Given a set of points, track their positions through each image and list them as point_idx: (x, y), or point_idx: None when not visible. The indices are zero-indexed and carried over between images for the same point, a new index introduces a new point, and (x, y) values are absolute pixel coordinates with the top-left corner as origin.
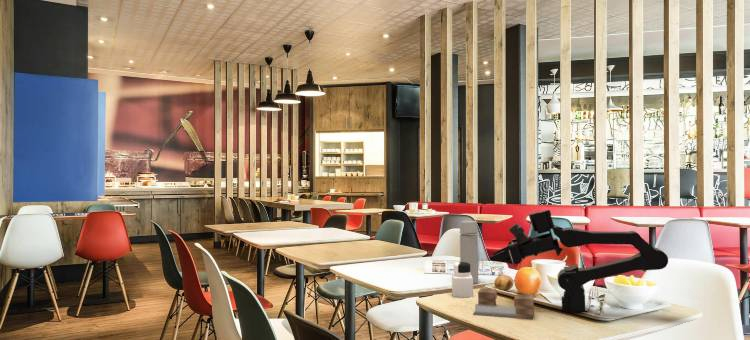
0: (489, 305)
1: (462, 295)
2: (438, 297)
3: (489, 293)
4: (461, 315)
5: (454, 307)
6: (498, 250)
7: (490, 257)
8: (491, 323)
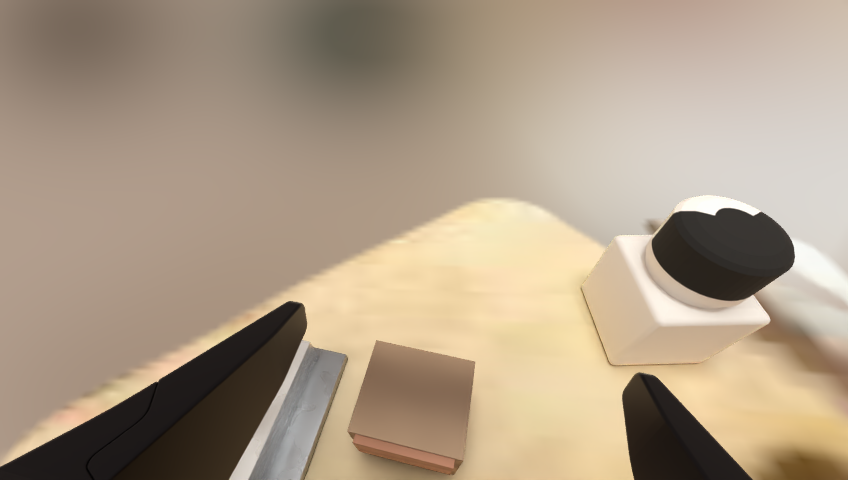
0: (271, 406)
1: (595, 315)
2: (560, 239)
3: (357, 405)
4: (311, 304)
5: (424, 285)
6: (728, 461)
7: (279, 307)
8: None
